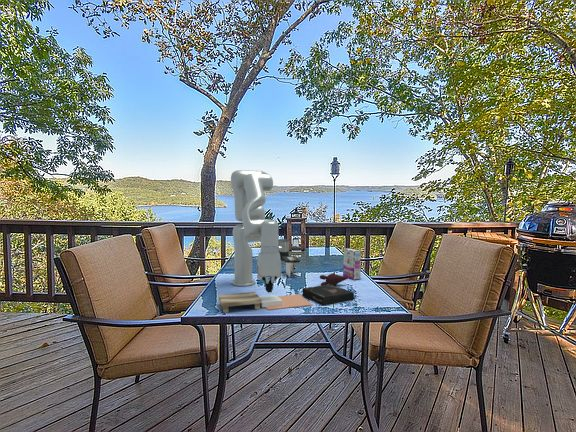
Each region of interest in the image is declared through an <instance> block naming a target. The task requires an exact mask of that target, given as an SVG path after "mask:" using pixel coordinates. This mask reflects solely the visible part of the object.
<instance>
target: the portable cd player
mask: <svg viewBox="0 0 576 432" xmlns="http://www.w3.org/2000/svg"><path fill="white" fill-rule="evenodd" d="M302 297H304V298H305V299H307V300H311V301H313V302H314V303H316V304H319V305H321V306H323V307H325V306H329V305H333V304H339V303H340V304H341V303H344V302H345V303H346V302H349V301H353V300H355V296H354V292H353V291H350V290H348V289H345V288H343V287H340V286H337V285H336V286H335V285H332V284H328V285H321V284H320V285H317V286H315V285H314V286H309V287H305V288H304V287H303V288H302Z"/></svg>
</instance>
